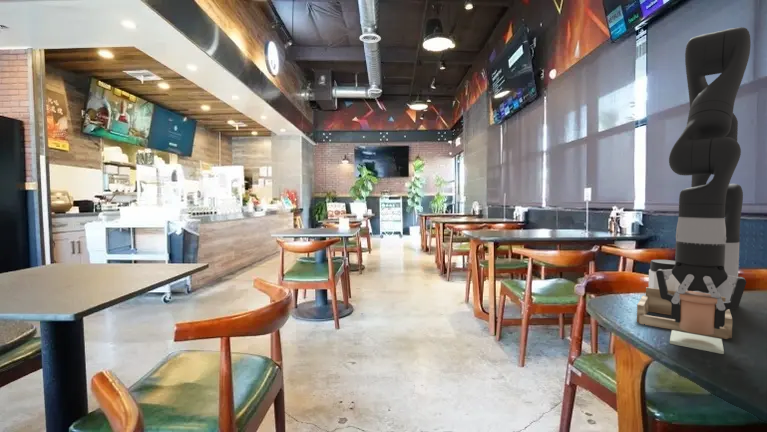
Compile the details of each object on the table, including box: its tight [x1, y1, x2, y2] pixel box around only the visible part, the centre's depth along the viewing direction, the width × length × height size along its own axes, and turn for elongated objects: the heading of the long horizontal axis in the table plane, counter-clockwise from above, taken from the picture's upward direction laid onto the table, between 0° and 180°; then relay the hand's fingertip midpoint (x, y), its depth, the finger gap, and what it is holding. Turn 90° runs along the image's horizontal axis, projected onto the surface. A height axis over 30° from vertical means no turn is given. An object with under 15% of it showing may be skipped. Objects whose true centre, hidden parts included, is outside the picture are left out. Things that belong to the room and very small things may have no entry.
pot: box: [679, 291, 717, 335], centre depth 75 cm, size 6×6×7 cm
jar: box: [648, 259, 688, 291], centre depth 102 cm, size 9×8×12 cm
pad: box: [669, 329, 725, 355], centre depth 75 cm, size 8×8×1 cm
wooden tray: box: [636, 286, 733, 340], centre depth 88 cm, size 14×16×6 cm
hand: (696, 324), depth 75 cm, fingers closed on pot, 5 cm apart
